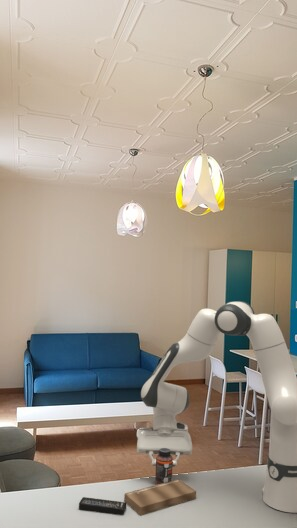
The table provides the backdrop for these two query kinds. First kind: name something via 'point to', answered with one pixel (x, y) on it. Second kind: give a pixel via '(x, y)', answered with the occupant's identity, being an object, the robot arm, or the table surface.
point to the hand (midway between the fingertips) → (164, 465)
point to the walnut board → (159, 496)
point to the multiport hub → (102, 506)
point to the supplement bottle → (164, 466)
